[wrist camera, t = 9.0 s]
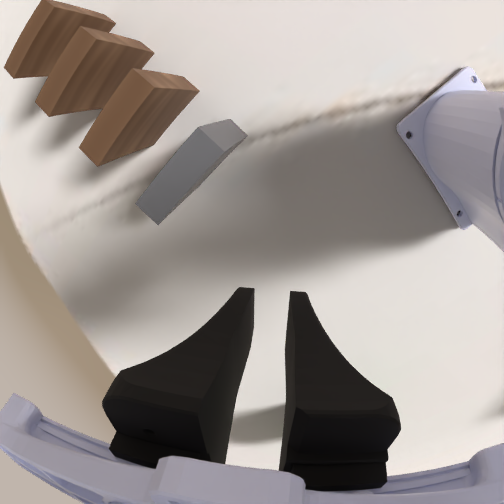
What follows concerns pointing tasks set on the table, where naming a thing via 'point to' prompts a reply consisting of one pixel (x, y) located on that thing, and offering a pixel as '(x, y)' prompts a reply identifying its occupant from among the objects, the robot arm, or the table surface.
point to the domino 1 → (50, 37)
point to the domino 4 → (189, 167)
